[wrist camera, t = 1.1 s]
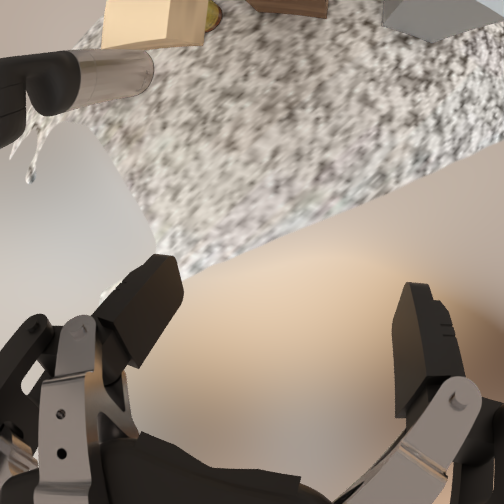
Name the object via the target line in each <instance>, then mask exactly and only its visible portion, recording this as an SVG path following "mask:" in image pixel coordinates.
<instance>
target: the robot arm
mask: <svg viewBox="0 0 504 504" xmlns="http://www.w3.org/2000/svg"><path fill="white" fill-rule="evenodd" d="M153 71H154V70H153V62H152V59H151V57H150V56H149V55H148V54H147V53H146V52H145V51H143V50H130V49H80V50H68V51H57V52H48V53H40V54H32V55H22V56H13V57H6V58H0V149H1V148H3V147H5V146H7V145H9V144H10V143H12V142H14V141H15V140H17V139H18V138H19V137H20V136H21V135H22V134H23V132H24V130H25V126H26V107H25V106H26V91H27V93H28V96H29V98H30V101H31V103H32V105H33V107H34V108H35V110H36V111H37V112H38V113H39V114H41V115H43V116H54V115H57V114H60V113H63V112H67V111H70V110H74V109H78V108H81V107H85V106H89V105H93V104H97V103H101V102H106V101H110V100H115V99H121V98H126V97H131V96H136V95H139V94H140V93H142V92H143V91H144V90H146V88H147V87H148V86H149V84H150V82H151V80H152V77H153ZM183 296H184V290H183V285H182V281H181V277H180V273H179V269H178V265H177V261H176V259H175V257H174V256H169V255H161V254H153V255H152V256H151V257H150V258H149V259H148V260H147V261H146V262H145V263H144V264H143V265H141V266H140V267H138V268H136V269H135V270H133V271H132V272H130V273H129V274H128V275H127V276H126V277H125V278H124V280H123V281H122V283H120V284H119V285H118V286H117V287H116V290H113V292H112V293H111V294H110V295H109V296H108V297H107V298H106V299H105V300H104V301H103V303H102V304H101V305H100V306H99V307H98V308H97V310H96V311H95V312H94V313H93V314H92V315H91V316H88V315H79V316H77V317H74V318H72V319H70V320H69V321H68V322H67V323H66V324H65V325H64V326H52V325H51V324H50V322H49V320H48V319H47V317H46V316H45V315H43V314H36V315H33V316H31V317H29V318H28V319H27V320H26V321H25V322H24V323H23V324H22V325H21V326H20V327H19V329H18V330H17V331H16V332H15V333H14V335H13V336H12V337H11V338H10V340H9V341H8V342H7V343H6V345H5V346H4V347H3V349H2V350H1V351H0V504H432V503H433V502H434V500H435V499H436V497H437V496H438V495H439V493H440V492H441V491H442V489H443V488H444V486H445V484H446V482H447V479H448V476H447V475H446V471H447V469H448V467H449V466H450V464H451V462H454V467H453V482H452V491H451V499H450V504H504V403H501V402H498V401H494V400H490V399H487V398H484V397H481V393H480V391H479V389H478V387H477V386H476V384H475V383H474V382H472V381H471V380H470V379H468V378H466V376H465V372H464V367H463V363H462V359H461V354H460V350H459V346H458V342H457V339H456V337H455V331H454V328H453V327H452V325H453V324H452V321H451V318H450V315H449V312H448V310H447V309H446V308H445V306H444V305H443V304H442V303H441V301H437V300H433V297H432V294H431V291H430V287H429V285H428V284H423V283H412V282H406V284H405V285H404V288H403V291H402V294H401V297H400V301H399V303H398V306H397V310H396V312H395V315H394V318H393V323H392V343H393V357H394V373H395V418H406V428H405V429H404V430H403V431H402V432H401V434H400V435H399V436H398V437H397V439H396V440H395V441H394V442H393V443H392V444H391V446H390V447H389V448H388V449H387V450H386V451H385V452H384V454H383V455H382V456H381V457H380V458H379V459H378V460H377V461H376V463H374V464H373V466H372V467H371V468H370V469H369V470H368V471H367V472H366V473H365V474H364V475H362V476H361V477H360V478H359V479H358V480H357V481H356V482H354V483H353V484H352V485H351V486H350V487H349V488H348V489H347V490H346V491H345V492H343V493H342V494H341V495H340V496H339V497H338V498H337V499H335V500H334V501H333V502H331V501H329V500H328V499H327V498H326V497H325V496H324V495H322V494H321V493H319V492H318V491H316V490H314V489H312V488H310V487H308V486H306V485H303V484H301V483H300V480H301V477H300V476H293V475H287V474H281V473H275V472H270V471H265V470H260V469H224V468H212V467H209V466H207V465H205V464H204V463H202V462H201V461H199V460H197V459H196V458H194V457H193V456H191V455H189V454H188V453H186V452H185V451H183V450H182V449H180V448H179V447H177V446H176V445H174V444H171V443H169V442H166V441H164V440H161V439H159V438H156V437H154V436H151V435H149V434H147V433H144V432H142V431H141V433H140V435H139V432H138V429H137V427H136V426H135V424H134V421H133V419H132V416H131V409H130V402H129V395H128V387H127V378H126V373H125V371H124V369H125V367H126V366H127V365H130V366H132V367H135V368H138V369H139V368H140V366H141V365H142V363H143V362H144V360H145V359H146V357H147V356H148V354H149V352H150V351H151V349H152V348H153V346H154V345H155V343H156V342H157V340H158V339H159V337H160V335H161V334H162V332H163V331H164V329H165V328H166V326H167V325H168V323H169V322H170V320H171V319H172V317H173V315H174V314H175V313H176V311H177V310H178V308H179V307H180V305H181V303H182V301H183ZM36 360H37V361H38V362H39V363H40V364H41V366H42V367H43V368H44V369H45V371H44V372H43V374H42V375H41V377H40V378H39V380H38V381H37V383H36V384H35V386H34V387H33V389H32V390H31V392H30V393H29V394H28V395H25V394H24V393H23V391H22V389H21V382H22V380H23V378H24V377H25V375H26V374H27V372H28V371H29V370H30V368H31V367H32V365H33V364H34V363H35V361H36ZM37 447H38V452H39V468H38V461H37V460H36V459H35V458H34V457H33V455H34V453H35V451H36V449H37ZM494 458H495V473H494ZM29 470H30V471H29ZM493 477H494V490H493Z"/></svg>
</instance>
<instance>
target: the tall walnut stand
mask: <svg viewBox="0 0 504 504" xmlns="http://www.w3.org/2000/svg"><path fill="white" fill-rule="evenodd" d="M245 1H247V2H248V3H249V4H250V5H251V6H252V7H253V8H254V9H256V10H257V11H258V12H268V13H282V14H293V15H302V16H310V17H317V18H323V19H327V10H328V0H245Z"/></svg>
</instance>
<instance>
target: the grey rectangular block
mask: <svg viewBox="0 0 504 504" xmlns="http://www.w3.org/2000/svg"><path fill="white" fill-rule="evenodd" d="M502 21H504V0H384V4H383V16H382V26H384V27H387V28H391V29H394V30H397V31H400V32H403V33H406V34H409V35H412V36H414V37H417V38H420V39H422V40H425V41H428V42H430V43H434V42H437V41H439V40H442V39H445V38H448V37H451V36H454V35H457V34H460V33H463V32H466V31H469V30H472V29H476V28H479V27H483V26H486V25H490V24H494V23H498V22H502Z"/></svg>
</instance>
